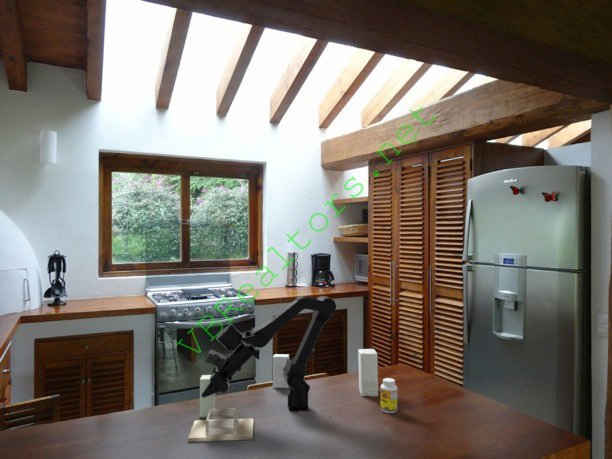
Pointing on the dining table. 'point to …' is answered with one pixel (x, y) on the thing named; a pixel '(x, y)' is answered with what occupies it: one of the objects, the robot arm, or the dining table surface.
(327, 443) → the dining table surface
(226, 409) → the holder
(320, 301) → the robot arm
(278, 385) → the skincare box
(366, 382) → the skincare box
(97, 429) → the dining table surface
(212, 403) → the peg
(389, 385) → the supplement bottle
